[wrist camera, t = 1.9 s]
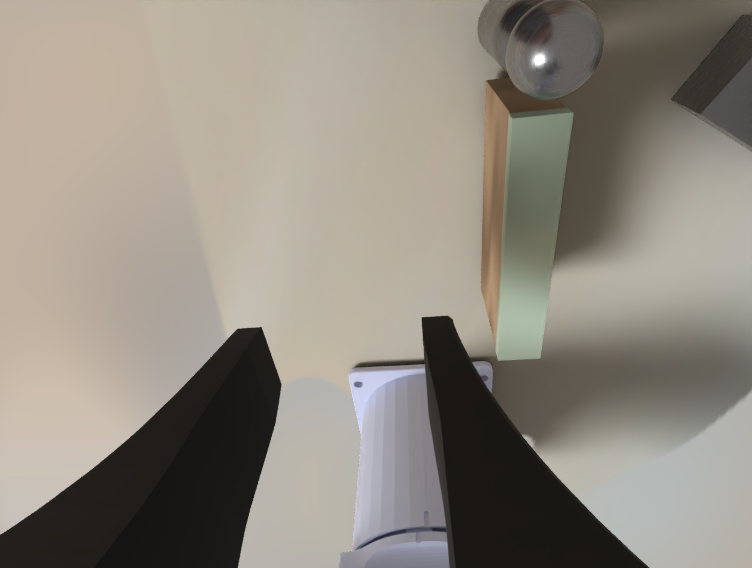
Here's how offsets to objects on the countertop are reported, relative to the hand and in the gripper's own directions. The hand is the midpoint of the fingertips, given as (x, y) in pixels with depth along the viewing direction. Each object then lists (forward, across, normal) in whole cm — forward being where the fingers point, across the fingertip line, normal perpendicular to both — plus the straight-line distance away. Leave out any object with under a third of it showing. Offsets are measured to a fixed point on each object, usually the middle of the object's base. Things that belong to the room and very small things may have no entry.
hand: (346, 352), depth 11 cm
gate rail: (+9, -5, +1) cm, 11 cm away
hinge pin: (+10, -6, -6) cm, 13 cm away
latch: (+10, -14, -2) cm, 18 cm away
